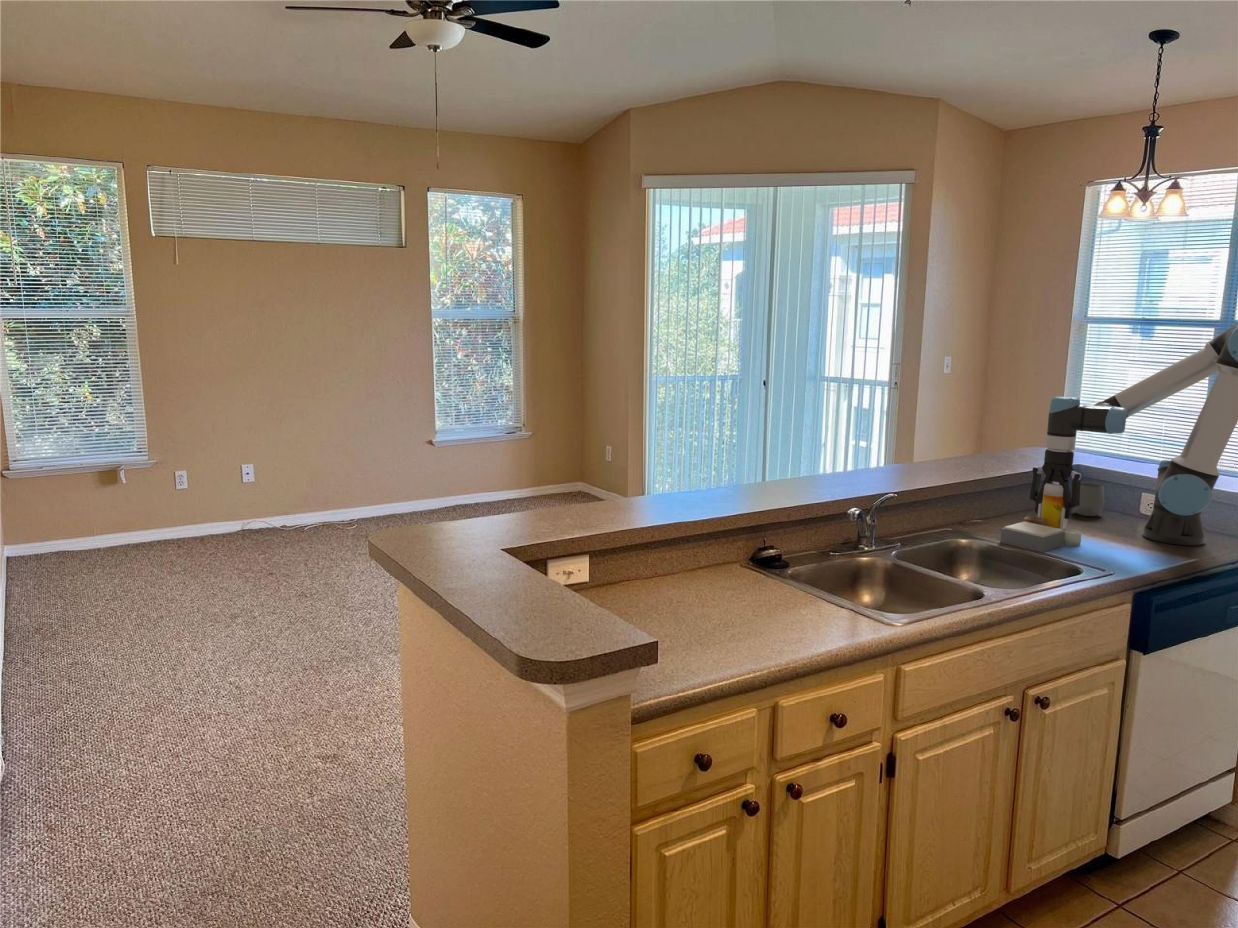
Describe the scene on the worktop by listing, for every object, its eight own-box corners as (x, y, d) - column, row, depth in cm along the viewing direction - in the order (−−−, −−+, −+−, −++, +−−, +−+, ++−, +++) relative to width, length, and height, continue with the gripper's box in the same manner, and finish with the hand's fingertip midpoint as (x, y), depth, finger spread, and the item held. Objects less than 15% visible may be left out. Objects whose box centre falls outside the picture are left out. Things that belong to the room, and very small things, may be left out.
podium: (1063, 545, 236) (1065, 529, 235) (1042, 552, 229) (1044, 535, 228) (1021, 536, 245) (1023, 520, 245) (1000, 542, 238) (1001, 526, 237)
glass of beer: (1061, 536, 245) (1067, 486, 243) (1038, 533, 248) (1043, 483, 246) (1062, 532, 251) (1068, 482, 248) (1039, 529, 254) (1045, 480, 251)
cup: (1109, 516, 273) (1113, 486, 271) (1092, 519, 268) (1096, 488, 266) (1081, 510, 281) (1084, 480, 279) (1064, 512, 276) (1067, 483, 274)
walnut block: (1043, 534, 248) (1045, 518, 247) (1040, 538, 244) (1041, 521, 243) (1025, 532, 251) (1027, 515, 250) (1021, 535, 247) (1023, 518, 246)
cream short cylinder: (1084, 544, 238) (1085, 532, 238) (1074, 547, 235) (1075, 535, 234) (1062, 539, 243) (1064, 527, 242) (1052, 542, 239) (1053, 530, 239)
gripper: (1099, 453, 240) (1090, 531, 244) (1033, 444, 255) (1026, 518, 259) (1087, 455, 235) (1078, 535, 240) (1021, 446, 250) (1013, 522, 254)
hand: (1051, 526), depth 249 cm, fingers closed on glass of beer, 6 cm apart
